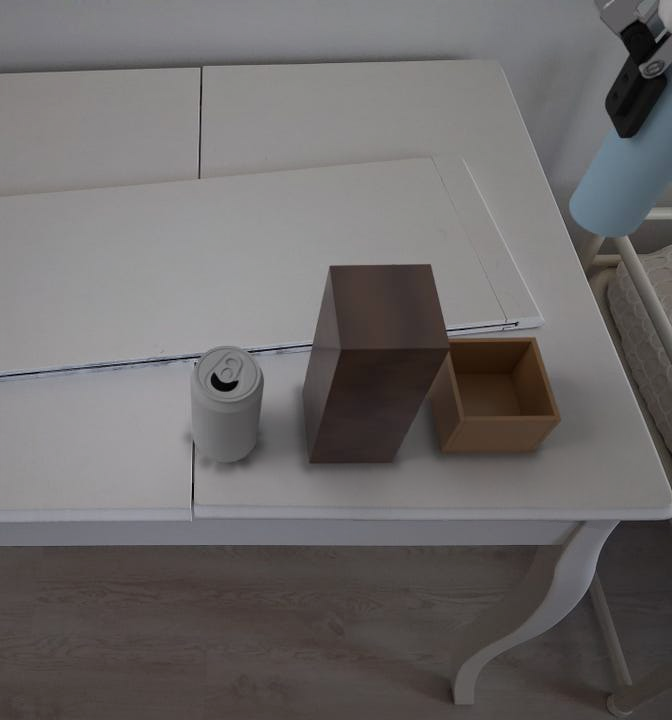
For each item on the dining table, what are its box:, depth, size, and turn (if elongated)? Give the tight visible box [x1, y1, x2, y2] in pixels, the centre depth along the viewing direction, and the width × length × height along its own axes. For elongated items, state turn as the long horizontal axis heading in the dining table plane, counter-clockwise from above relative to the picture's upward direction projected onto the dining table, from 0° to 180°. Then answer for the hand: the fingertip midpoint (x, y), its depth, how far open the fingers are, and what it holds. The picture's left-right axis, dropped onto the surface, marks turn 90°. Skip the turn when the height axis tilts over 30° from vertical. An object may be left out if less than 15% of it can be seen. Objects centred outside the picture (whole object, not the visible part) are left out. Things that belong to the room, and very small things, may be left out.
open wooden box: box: [428, 336, 562, 453], centre depth 70 cm, size 9×9×6 cm
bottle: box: [568, 63, 672, 239], centre depth 43 cm, size 5×5×13 cm
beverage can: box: [189, 345, 265, 463], centre depth 66 cm, size 6×6×12 cm
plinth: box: [301, 263, 450, 465], centre depth 63 cm, size 8×8×20 cm
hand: (665, 119), depth 42 cm, fingers closed on bottle, 4 cm apart
